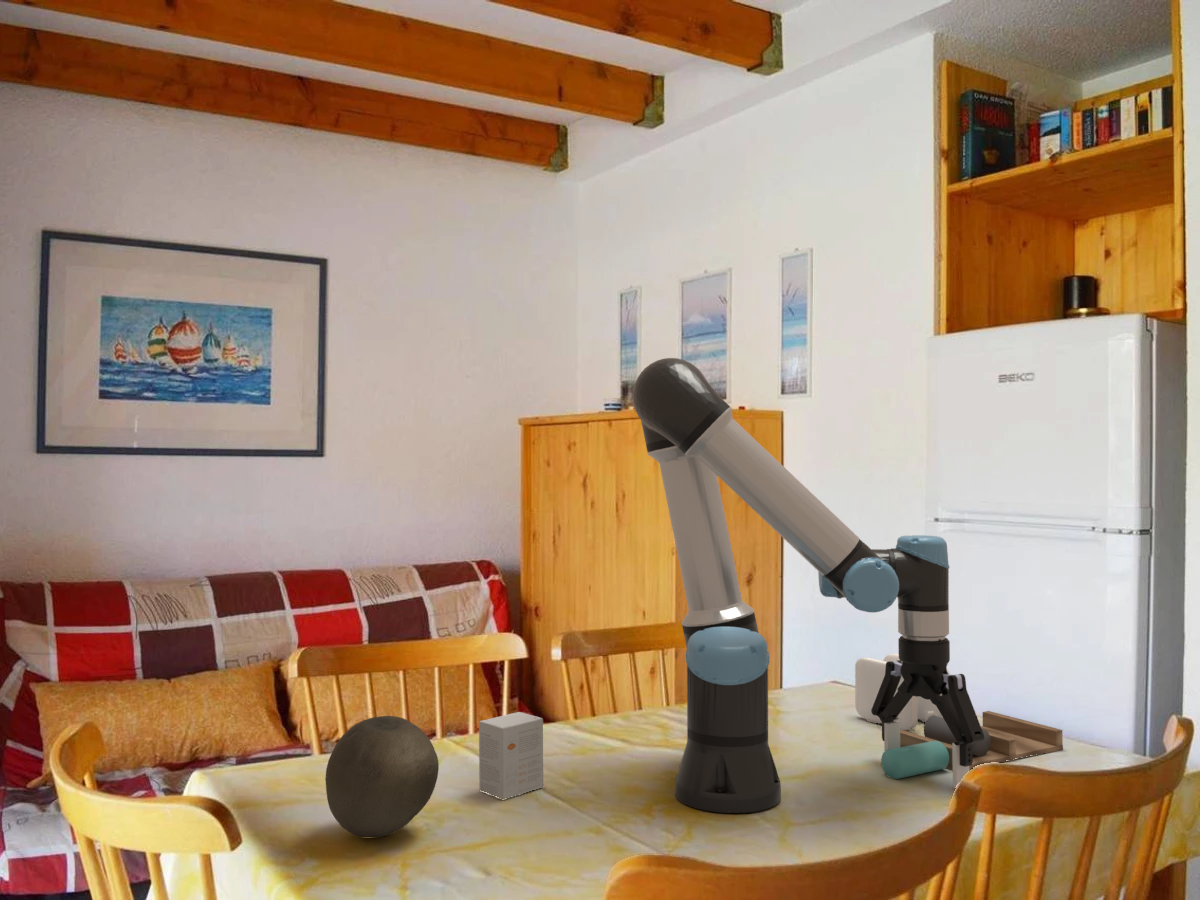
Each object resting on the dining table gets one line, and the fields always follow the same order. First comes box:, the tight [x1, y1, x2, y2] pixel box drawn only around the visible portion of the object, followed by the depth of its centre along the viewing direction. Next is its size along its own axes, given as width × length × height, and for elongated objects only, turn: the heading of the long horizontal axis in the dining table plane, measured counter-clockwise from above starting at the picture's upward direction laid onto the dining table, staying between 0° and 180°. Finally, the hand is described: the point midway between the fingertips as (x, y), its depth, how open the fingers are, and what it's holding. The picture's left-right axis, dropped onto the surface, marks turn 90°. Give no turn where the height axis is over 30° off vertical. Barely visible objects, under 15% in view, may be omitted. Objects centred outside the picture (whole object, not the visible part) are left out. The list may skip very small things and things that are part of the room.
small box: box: [478, 711, 544, 799], centre depth 150 cm, size 8×6×10 cm
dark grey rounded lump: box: [324, 715, 440, 838], centre depth 132 cm, size 14×14×15 cm
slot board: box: [900, 710, 1064, 771], centre depth 171 cm, size 25×15×3 cm, turn 119°
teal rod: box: [880, 741, 949, 780], centre depth 158 cm, size 10×4×4 cm
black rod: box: [923, 716, 991, 757], centre depth 168 cm, size 10×4×4 cm, turn 29°
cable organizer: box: [854, 653, 950, 731], centre depth 189 cm, size 15×11×12 cm
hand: (925, 775), depth 156 cm, fingers open, 13 cm apart
